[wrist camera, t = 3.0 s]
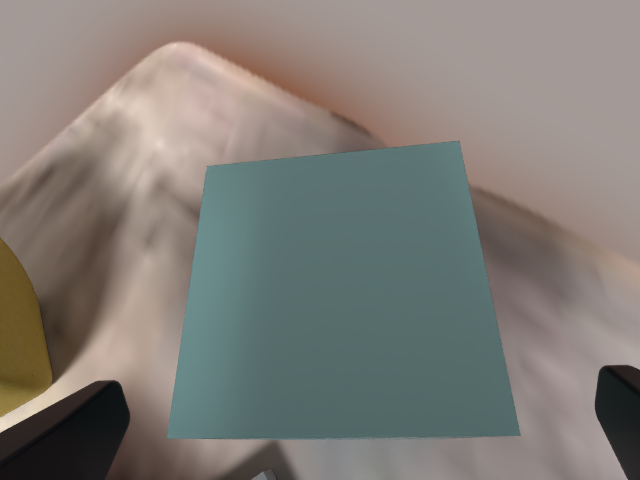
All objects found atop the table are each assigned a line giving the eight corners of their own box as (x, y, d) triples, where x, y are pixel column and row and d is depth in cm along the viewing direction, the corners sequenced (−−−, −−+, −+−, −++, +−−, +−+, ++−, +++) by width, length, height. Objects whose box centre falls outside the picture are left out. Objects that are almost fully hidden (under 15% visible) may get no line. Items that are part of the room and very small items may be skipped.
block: (434, 438, 15) (520, 435, 5) (303, 439, 16) (166, 438, 6) (418, 309, 17) (459, 141, 8) (304, 314, 18) (206, 166, 8)
